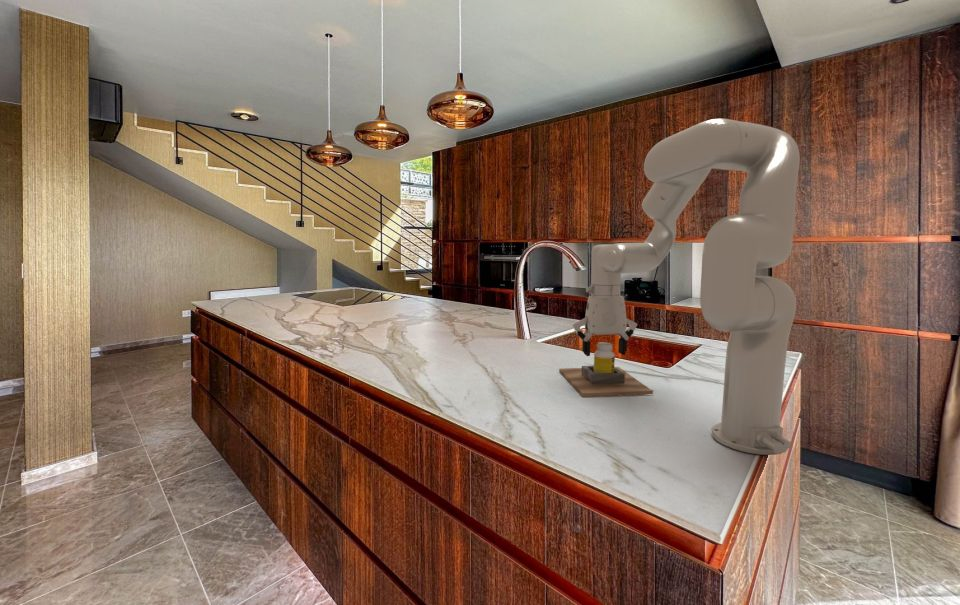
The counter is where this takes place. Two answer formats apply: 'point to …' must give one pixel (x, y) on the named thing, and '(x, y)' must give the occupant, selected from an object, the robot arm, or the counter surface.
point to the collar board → (603, 382)
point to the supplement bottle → (604, 358)
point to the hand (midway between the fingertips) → (604, 354)
